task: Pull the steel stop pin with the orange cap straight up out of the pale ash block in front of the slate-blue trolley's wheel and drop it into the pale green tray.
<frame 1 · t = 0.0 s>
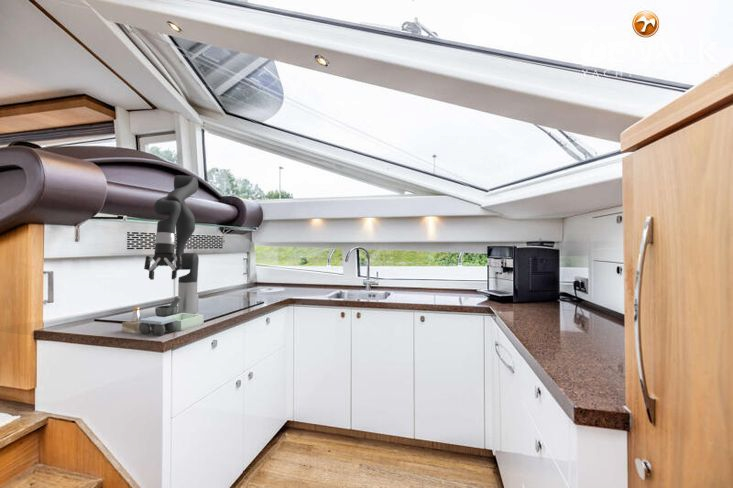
hand: (162, 279, 144), 22 cm above the worktop, tool pointing down, fingers open, 8 cm apart
trolley: (157, 332, 139), on the worktop
mortar and pestle: (168, 321, 161), on the worktop
stop pin: (136, 319, 142), in the stop block
tray: (181, 326, 150), on the worktop
stop block: (135, 330, 142), on the worktop
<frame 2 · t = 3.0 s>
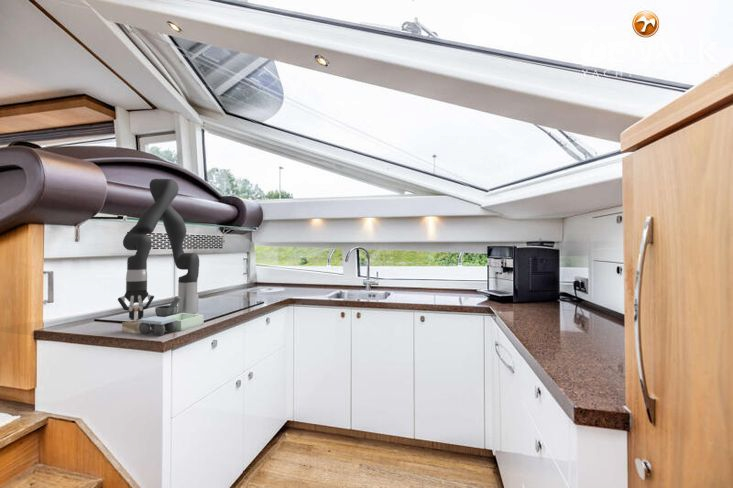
hand: (136, 318, 142), 5 cm above the worktop, tool pointing down, fingers closed on stop pin, 2 cm apart
stop pin: (136, 319, 142), in the stop block, touching gripper
everything else where it was.
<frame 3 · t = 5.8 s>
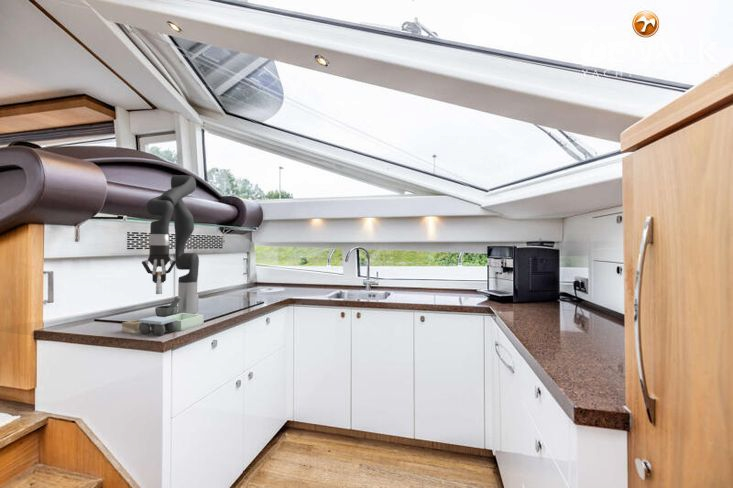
hand: (159, 282, 147), 21 cm above the worktop, tool pointing down, fingers closed on stop pin, 2 cm apart
stop pin: (159, 282, 147), point 21 cm above the worktop, touching gripper
everything else where it was.
when the fingers open (9 cm above the worktop, at t = 8.5 s): stop pin drops 3 cm, resting on tray.
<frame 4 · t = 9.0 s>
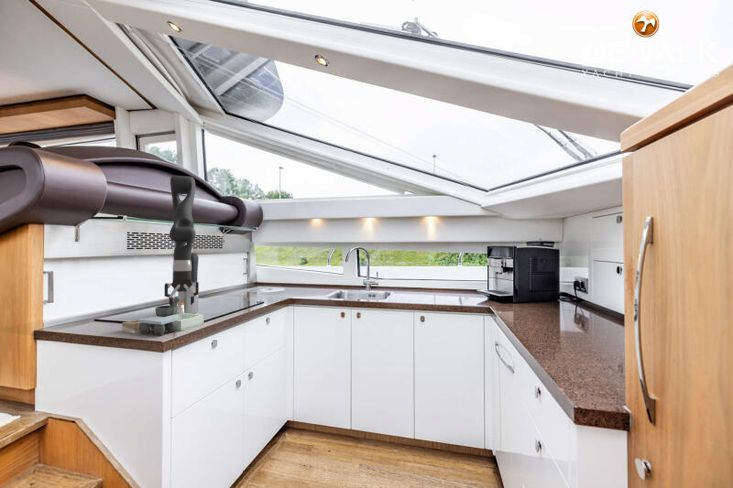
hand: (181, 305, 151), 10 cm above the worktop, tool pointing down, fingers open, 7 cm apart
stop pin: (181, 313, 150), in the tray, point 6 cm above the worktop
everything else where it was.
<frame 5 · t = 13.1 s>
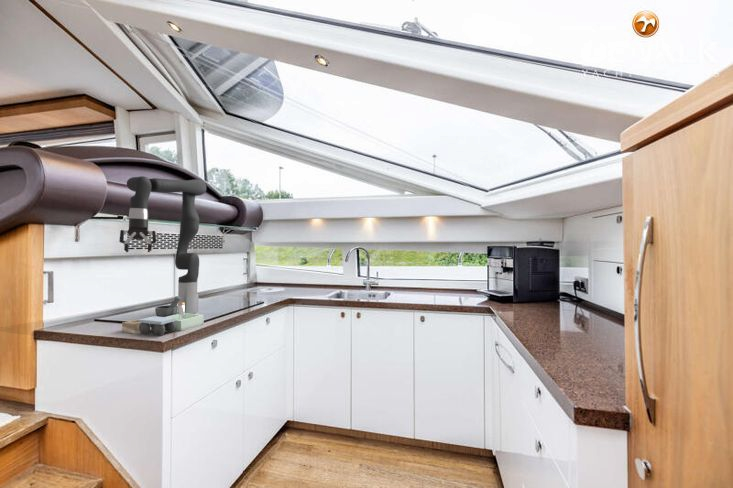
hand: (138, 252, 156), 34 cm above the worktop, tool pointing down, fingers open, 8 cm apart
nothing on the worktop moved.
at the end: stop pin inside the target area on the tray (0.1 cm from its centre), point 6.0 cm above the tray's base; the gripper is holding nothing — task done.
